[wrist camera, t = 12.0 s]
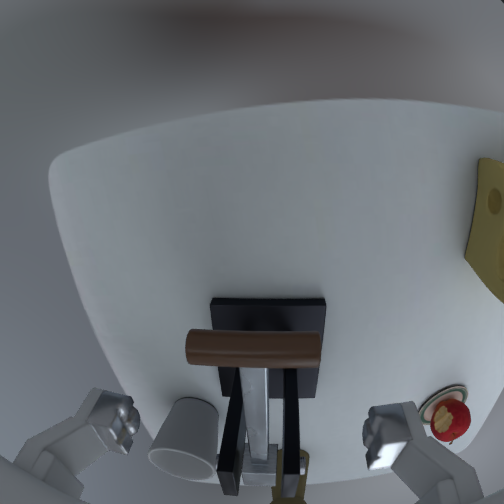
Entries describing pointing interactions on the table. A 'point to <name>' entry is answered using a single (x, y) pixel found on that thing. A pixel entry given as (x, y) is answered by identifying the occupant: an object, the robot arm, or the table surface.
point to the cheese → (488, 227)
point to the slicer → (280, 382)
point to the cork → (297, 501)
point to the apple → (447, 414)
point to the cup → (187, 441)
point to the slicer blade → (255, 381)
